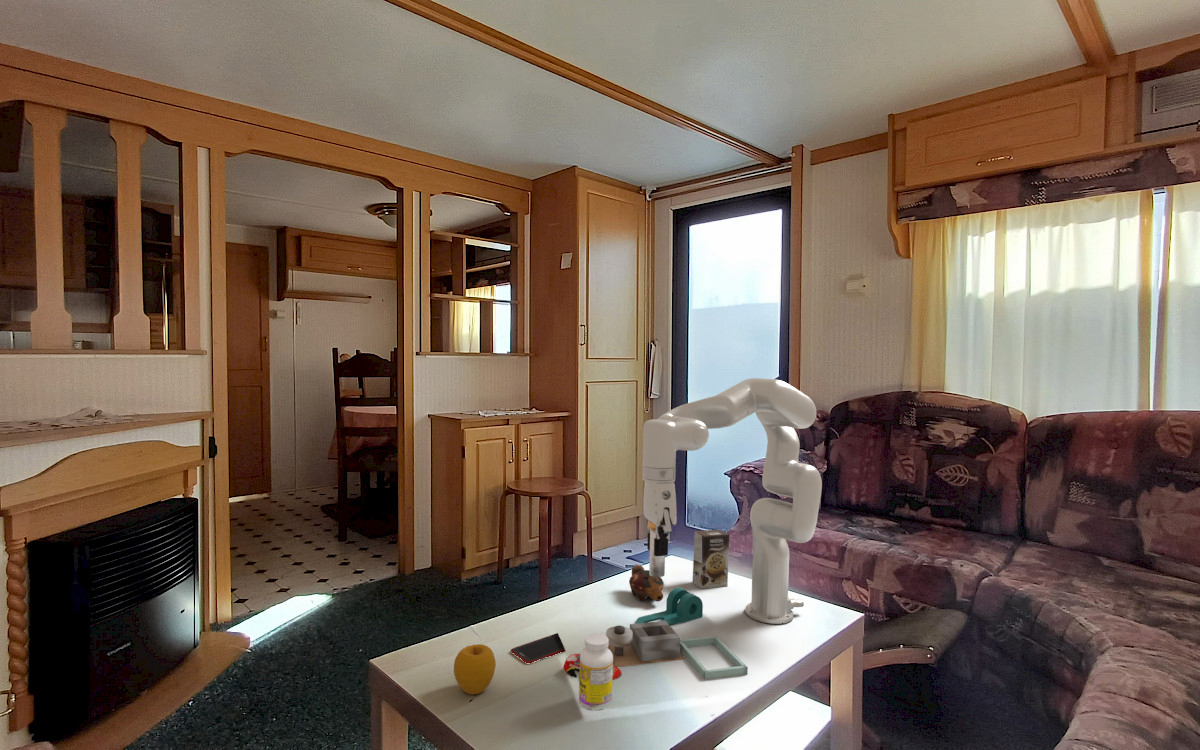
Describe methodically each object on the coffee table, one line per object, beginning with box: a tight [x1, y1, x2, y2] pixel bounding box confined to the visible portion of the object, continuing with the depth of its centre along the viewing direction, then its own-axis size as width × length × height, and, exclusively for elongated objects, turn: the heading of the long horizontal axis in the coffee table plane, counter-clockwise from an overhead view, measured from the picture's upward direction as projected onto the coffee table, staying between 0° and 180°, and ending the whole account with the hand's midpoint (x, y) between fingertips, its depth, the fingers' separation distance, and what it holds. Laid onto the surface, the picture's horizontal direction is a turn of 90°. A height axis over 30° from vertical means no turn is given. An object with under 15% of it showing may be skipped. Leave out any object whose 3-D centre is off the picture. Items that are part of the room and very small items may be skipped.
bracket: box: [635, 586, 704, 627], centre depth 156 cm, size 18×7×8 cm, turn 121°
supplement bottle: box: [578, 633, 613, 711], centre depth 120 cm, size 7×7×13 cm
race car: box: [563, 653, 622, 681], centre depth 130 cm, size 13×5×4 cm, turn 63°
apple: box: [453, 643, 497, 696], centre depth 124 cm, size 8×8×9 cm
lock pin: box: [647, 521, 666, 578], centre depth 139 cm, size 4×4×12 cm
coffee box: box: [692, 529, 730, 589], centre depth 185 cm, size 9×6×16 cm
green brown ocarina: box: [628, 564, 665, 602], centre depth 174 cm, size 10×15×8 cm, turn 31°
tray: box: [680, 635, 749, 680], centre depth 135 cm, size 10×15×3 cm, turn 15°
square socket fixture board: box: [605, 620, 686, 668], centre depth 138 cm, size 17×11×8 cm, turn 105°
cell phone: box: [510, 632, 567, 664], centre depth 142 cm, size 8×15×1 cm, turn 130°
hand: (657, 551), depth 139 cm, fingers closed on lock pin, 3 cm apart
